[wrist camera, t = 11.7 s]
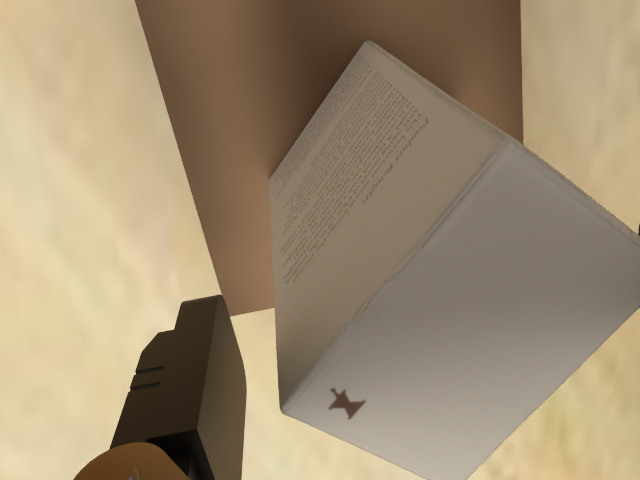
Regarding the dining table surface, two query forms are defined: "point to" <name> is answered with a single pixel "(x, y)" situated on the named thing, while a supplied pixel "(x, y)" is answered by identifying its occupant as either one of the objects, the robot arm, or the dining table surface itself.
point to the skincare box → (432, 273)
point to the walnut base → (302, 95)
